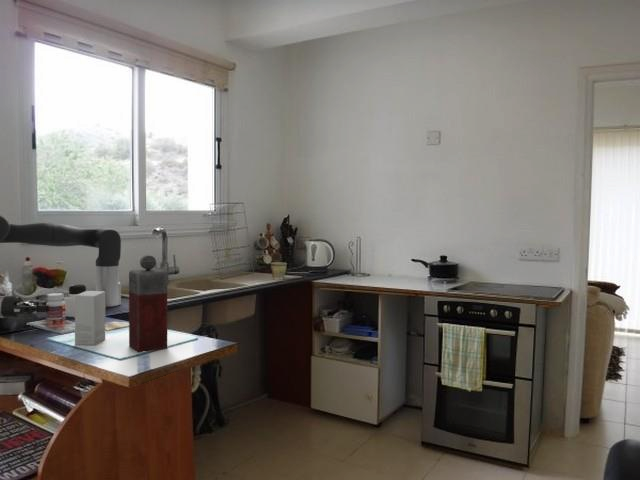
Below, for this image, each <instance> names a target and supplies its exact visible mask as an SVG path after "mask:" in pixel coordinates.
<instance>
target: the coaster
mask: <svg viewBox="0 0 640 480" xmlns="http://www.w3.org/2000/svg"><path fill="white" fill-rule="evenodd" d="M124 328H129V323H126V322H125V323H124V322H121V321H116V320H115V321H109V322H105V332H108V331H109V332H110V331H114V330H118V329H124Z"/></svg>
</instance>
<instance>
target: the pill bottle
mask: <svg viewBox="0 0 640 480" xmlns="http://www.w3.org/2000/svg"><path fill="white" fill-rule="evenodd" d="M64 295H65V294H64V293H62V292H61V293H60V292H54V293H53V292H52V293H48V294H47V295H46V296H47V298H46V299H47V300H48V302H47V303H46V305H48V306H49V311H48V312H45V320H46V325H45V326H49V327H55V326H60V325H66V320H67V318H66V317H67V316H66V314H65V313H66V311H65V301H64V298H65V297H64Z"/></svg>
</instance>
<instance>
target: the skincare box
mask: <svg viewBox="0 0 640 480" xmlns="http://www.w3.org/2000/svg"><path fill="white" fill-rule="evenodd" d="M74 322H75V332H74V345H75V346H96V345H97V344H99V343H101V342H102V341H104V340H105V339H106V331H105V323H106V307H105V291H96V290H86V291H85V292H83V293H80V294H77V295H75V318H74Z"/></svg>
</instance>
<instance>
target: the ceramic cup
mask: <svg viewBox="0 0 640 480" xmlns="http://www.w3.org/2000/svg"><path fill="white" fill-rule="evenodd" d="M287 265H288V263H287V262H280V261H277V262H276V261H275V262H270V270H271V275H272V279H273V278H274V279H280V278H284V279H285V275H286V270H287ZM274 279H273V280H274Z"/></svg>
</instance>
